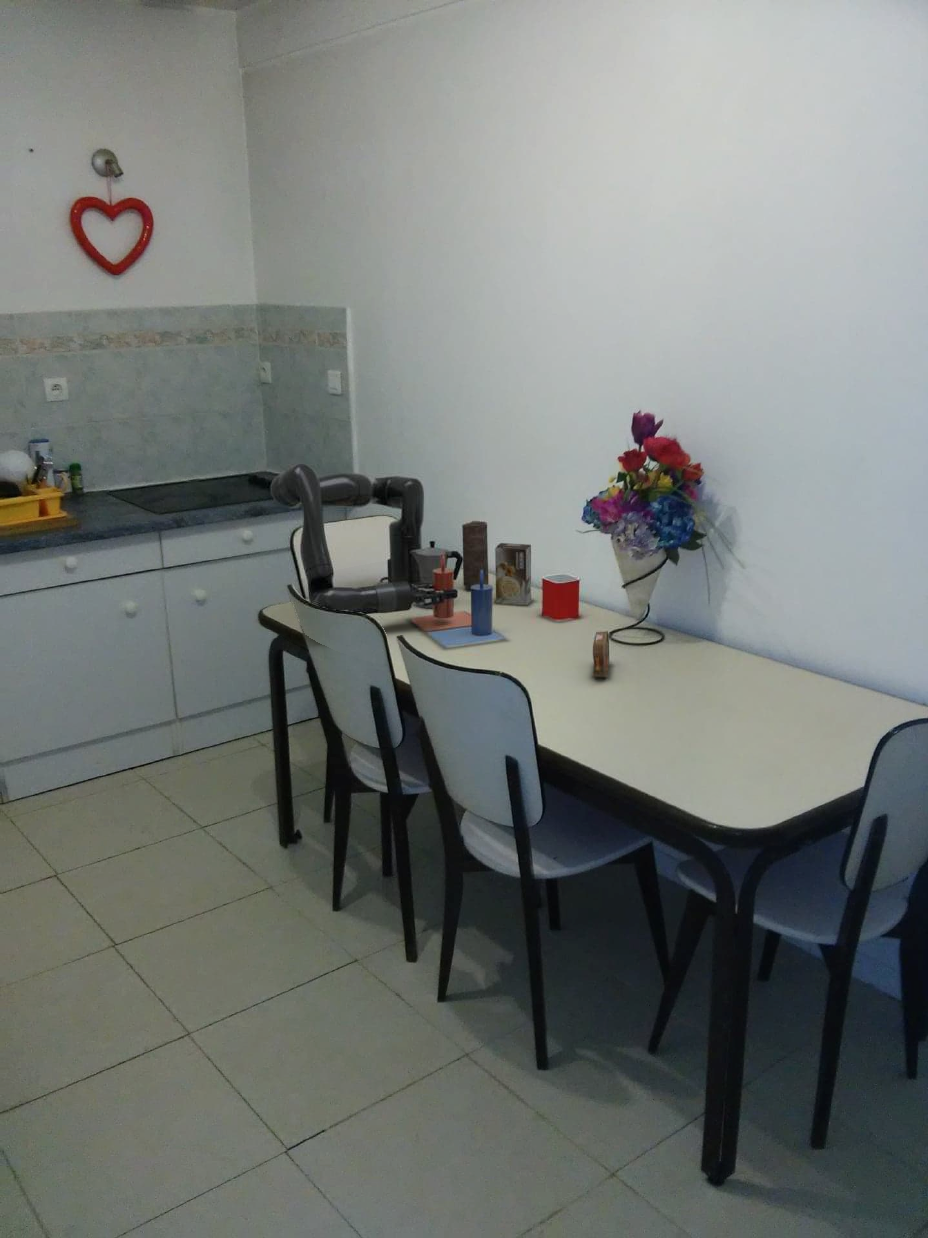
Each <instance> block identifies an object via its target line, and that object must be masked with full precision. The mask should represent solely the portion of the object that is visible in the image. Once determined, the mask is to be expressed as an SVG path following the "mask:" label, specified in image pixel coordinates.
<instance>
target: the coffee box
mask: <svg viewBox="0 0 928 1238" xmlns="http://www.w3.org/2000/svg"><path fill="white" fill-rule="evenodd" d="M494 549H495V550H494V555H495V556H494V559H495V560H494V561H495V563H494V564H495V604H500V605H513V606H514V605H516V606H528V604H530V602H531V601H532V545H531V544H526V543H508V542H507V543H506V542H505V543H504V542H500V543H499V544H497V545H496V547H495V548H494Z"/></svg>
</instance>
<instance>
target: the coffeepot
mask: <svg viewBox="0 0 928 1238" xmlns="http://www.w3.org/2000/svg"><path fill="white" fill-rule="evenodd" d="M435 545H436V541H435V540H430V541H429V547H425V548H422V549H417V550H412V551H411V552H410V553H411V554H412V555H413V556H414V558H415V560H416V561H417V563H418V566H419V572H420V576H421V583H430V584H433V570H434V569H438V568H441V554H444V555H445V568H448V560H449V559H454V558H455V559H456V561H455V565H454V566H455V567H454V569H453V571H454V581H456V580H457V579H458V576H459V573H460V570H461V567H462V565H463V555H461V553H460V552H459V551H458V550H448V549H446V548H440V547H436V546H435ZM417 606H418V607H420V608H423V609H432V610H433V605H428V606H424V603H423V604H417Z"/></svg>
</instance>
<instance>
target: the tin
mask: <svg viewBox="0 0 928 1238" xmlns="http://www.w3.org/2000/svg"><path fill="white" fill-rule="evenodd" d="M609 638H610V637H609V631H608V630H606V631H596V632H595V635H594V639H593V643H592V659H593V677H594V678H604V679H605V678H607V677H608V671H609V667H610V639H609Z"/></svg>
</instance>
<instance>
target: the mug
mask: <svg viewBox="0 0 928 1238" xmlns="http://www.w3.org/2000/svg"><path fill="white" fill-rule="evenodd" d="M580 581H581V578H580V577H578V576H575V575H572V574H569V573H565V572H560V573H553V574H548V575H543V576H541V591H542V592H541V594H542V595H541V596H542V597H541V599H542V600H541V601H542V602H541V615H542V616H545V617H546V618H550V619H552V620H556V621H562V620H568V619H572V620H575V619H579V616H580V614H579V613H580Z"/></svg>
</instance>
